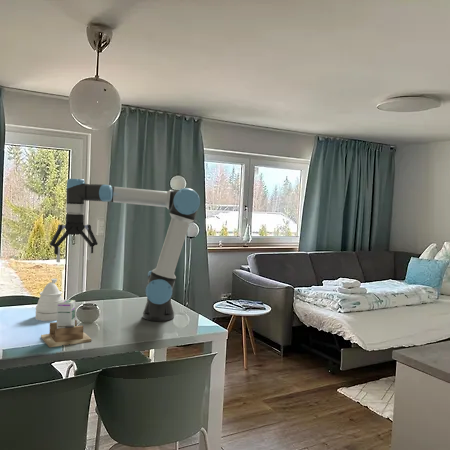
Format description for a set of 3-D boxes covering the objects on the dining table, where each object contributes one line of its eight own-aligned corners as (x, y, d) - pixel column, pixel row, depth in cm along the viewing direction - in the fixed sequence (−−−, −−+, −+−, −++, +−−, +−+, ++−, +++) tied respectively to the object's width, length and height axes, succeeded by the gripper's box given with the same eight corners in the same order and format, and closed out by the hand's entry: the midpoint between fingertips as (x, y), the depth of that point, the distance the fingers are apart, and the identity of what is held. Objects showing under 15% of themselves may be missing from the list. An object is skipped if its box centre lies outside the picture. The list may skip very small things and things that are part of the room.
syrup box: (71, 339, 171) (72, 302, 171) (56, 338, 171) (56, 302, 170) (75, 334, 177) (76, 299, 176) (60, 334, 177) (61, 299, 176)
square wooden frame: (81, 332, 184) (81, 316, 184) (91, 341, 173) (91, 324, 172) (41, 337, 175) (41, 321, 175) (49, 347, 164) (49, 330, 163)
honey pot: (50, 312, 213) (51, 276, 213) (70, 316, 208) (71, 279, 208) (29, 318, 202) (30, 280, 201) (50, 322, 197) (51, 283, 196)
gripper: (99, 213, 202) (98, 259, 203) (43, 212, 188) (42, 261, 189) (105, 214, 196) (104, 261, 197) (47, 213, 182) (46, 263, 183)
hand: (73, 261), depth 193 cm, fingers open, 13 cm apart
